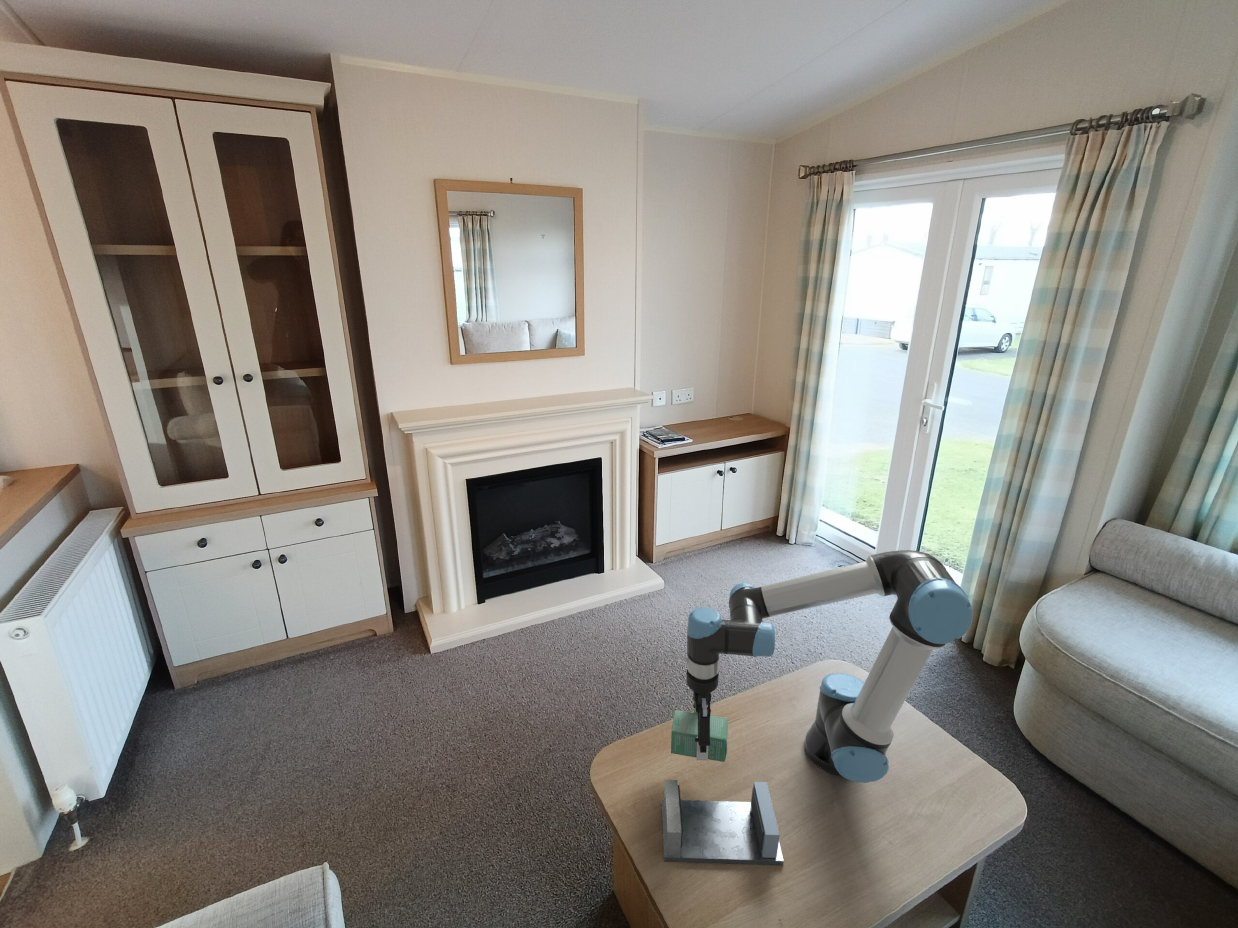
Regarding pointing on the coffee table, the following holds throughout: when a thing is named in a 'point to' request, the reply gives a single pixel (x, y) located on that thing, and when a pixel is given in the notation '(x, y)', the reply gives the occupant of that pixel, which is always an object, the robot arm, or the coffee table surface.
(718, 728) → the box
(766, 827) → the block
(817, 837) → the coffee table surface
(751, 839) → the vise
